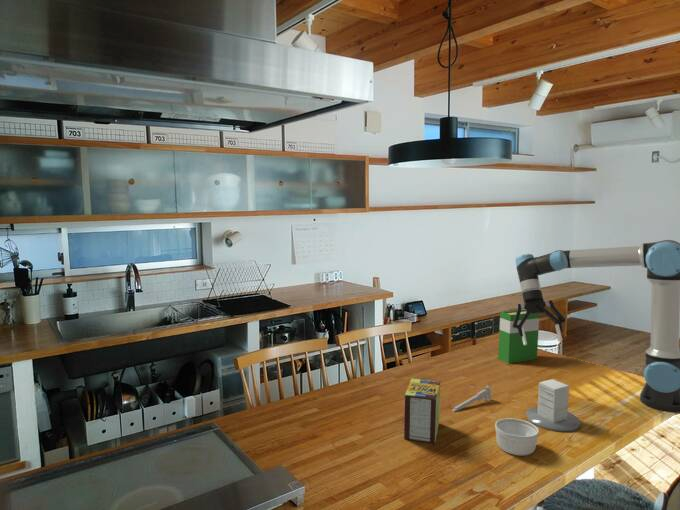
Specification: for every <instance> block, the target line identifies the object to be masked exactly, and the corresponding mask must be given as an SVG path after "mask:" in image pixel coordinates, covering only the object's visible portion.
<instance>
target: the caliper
mask: <svg viewBox="0 0 680 510" xmlns="http://www.w3.org/2000/svg"><path fill="white" fill-rule="evenodd" d="M491 392H492V391H491V387H490V386H489V385H486V386H484V389H483V390H480V391H479V392H477V393H476V394H475V395H474V396H472V397H469V398H468V399H467V400H465V401H463V402H461V403H459V404H458V405H455V406H454V408H453V409H452V410H451V411H452V412H454V413H455V412H458V411H460V410H463V409H464V408H466V407H467V406H469V405H471V404H473V403H475V402H476V401H481V400H482V399H484V401H485V402H488V401H490V400H491V394H492V393H491Z"/></svg>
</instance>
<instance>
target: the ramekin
mask: <svg viewBox="0 0 680 510" xmlns="http://www.w3.org/2000/svg"><path fill="white" fill-rule="evenodd" d="M494 425H495V426H494V429H495V438H496V444H497V446H498V447H499V448H500V450H502V451H504V452H505V453H507V454H510V455H514V456H518V457H520V456H521V457H522V456H530V455H531V454H532V453H534V452H535V450H536V447H537V443H538V437H539V435H540V431H539V428H538V426H536V425H534V424H532V423H531V422H529V421H527V420H524V419H519V418H512V417H511V418H510V417H507V418H500V419H498V420H496V421H495V424H494Z"/></svg>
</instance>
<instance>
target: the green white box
mask: <svg viewBox="0 0 680 510" xmlns="http://www.w3.org/2000/svg"><path fill="white" fill-rule="evenodd" d="M516 312H517V309H516V310H507V311H505V310H504V311H500V313H499V314H500V315H499V335H498V336H499V337H498V351H497V353H498V354H497V355H498V357H497V359H498V360H499V359H500V361H502V362H504V363H506V364H508V363H509V364H515V362H516V363H522V362H521V361H523V362H527V360H530V361H534V360H533V359H537V360H538V347H539V346H538V345H539V344H538V343H539V331H540V330H539V328H540V327H539V325H540V314H529V316H528V317H527V319H526V321H525V322H524V324H523V325H522V327H521V328H524V332H525V337H526V341H527V344H526V345H524V344H523V339H522V337H520V336H519V333H518V329H517V328H513V327H512V326H513V322H514V319H515V316H516ZM526 312H527V310H526V309H525V308H524V309H522V310H521V313H520V316H519V319H518V323H517V325H519V323H520V322H521V320H522V319H523V317H524V315H525V313H526Z"/></svg>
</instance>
